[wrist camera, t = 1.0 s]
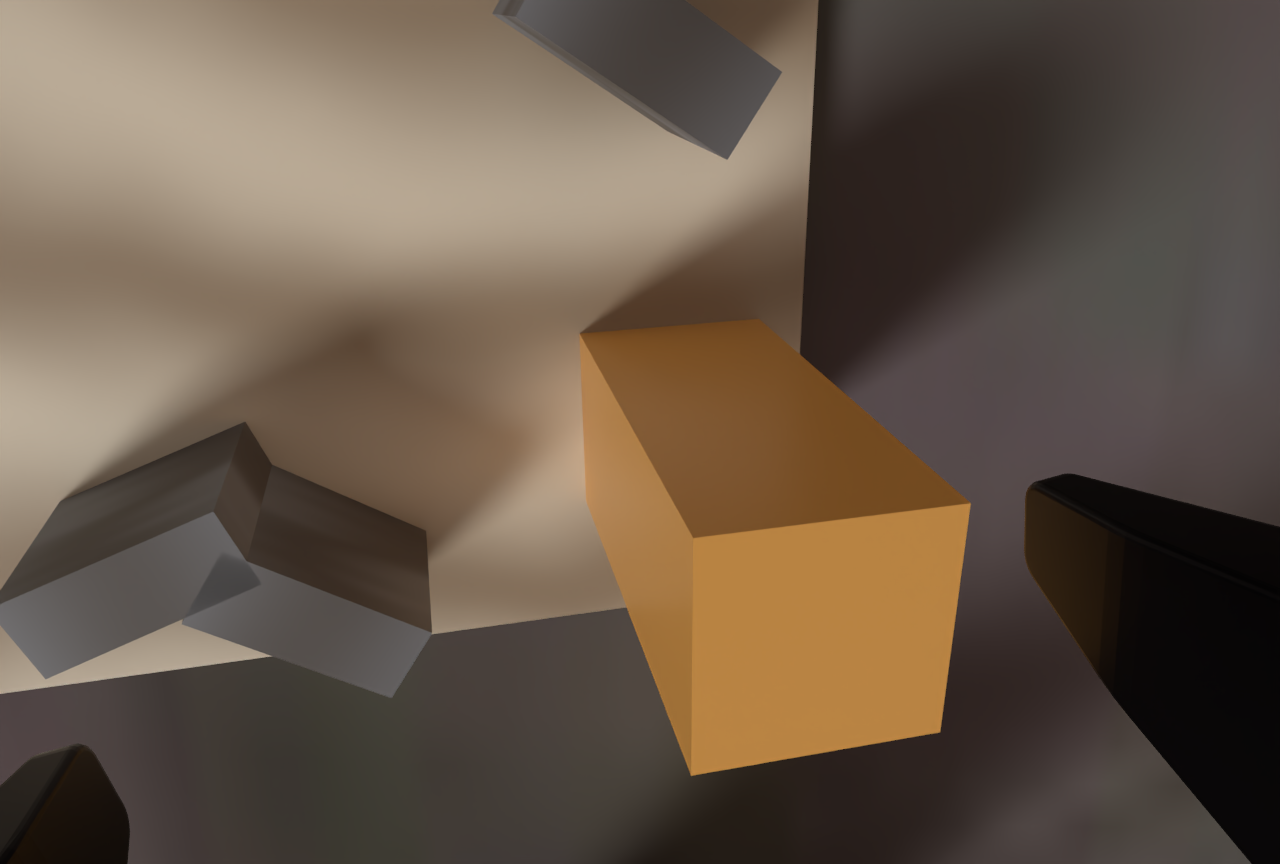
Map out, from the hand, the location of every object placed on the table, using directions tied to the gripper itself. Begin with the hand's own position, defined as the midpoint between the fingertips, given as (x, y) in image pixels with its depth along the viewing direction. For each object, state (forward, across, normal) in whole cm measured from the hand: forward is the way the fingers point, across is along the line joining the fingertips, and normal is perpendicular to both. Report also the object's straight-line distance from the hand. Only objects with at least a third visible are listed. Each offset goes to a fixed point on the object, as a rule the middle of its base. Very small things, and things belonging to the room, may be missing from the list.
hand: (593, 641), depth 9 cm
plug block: (+12, -3, +4) cm, 13 cm away
